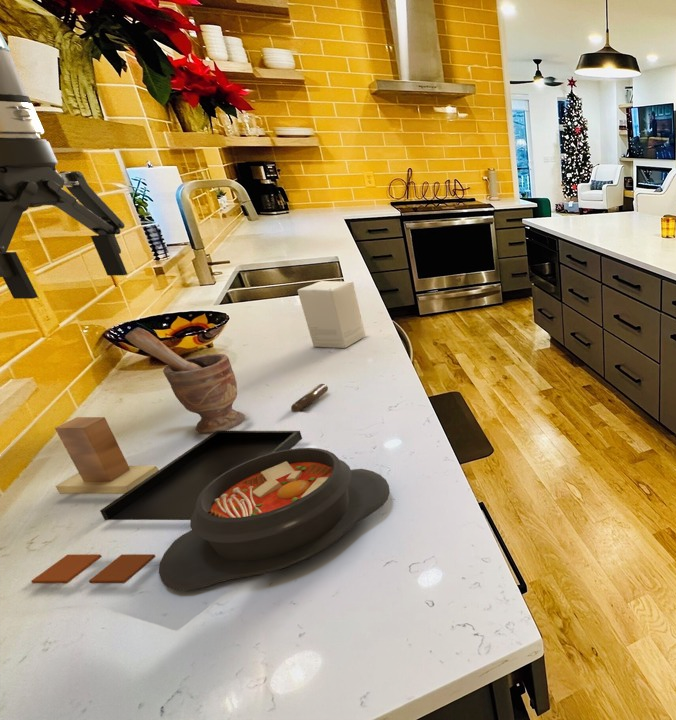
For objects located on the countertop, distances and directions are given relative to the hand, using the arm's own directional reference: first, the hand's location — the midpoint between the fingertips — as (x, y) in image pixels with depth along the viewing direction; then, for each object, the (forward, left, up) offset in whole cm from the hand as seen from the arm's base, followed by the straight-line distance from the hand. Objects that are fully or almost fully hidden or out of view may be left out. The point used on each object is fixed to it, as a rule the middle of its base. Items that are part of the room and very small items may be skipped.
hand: (75, 285), depth 78 cm
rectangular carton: (+11, +44, -27) cm, 53 cm away
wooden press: (+10, -16, -27) cm, 33 cm away
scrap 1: (+21, -32, -27) cm, 47 cm away
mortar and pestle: (+12, 0, -27) cm, 29 cm away
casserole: (+42, -25, -27) cm, 55 cm away
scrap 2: (+27, -32, -27) cm, 50 cm away
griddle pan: (+24, -4, -27) cm, 36 cm away
